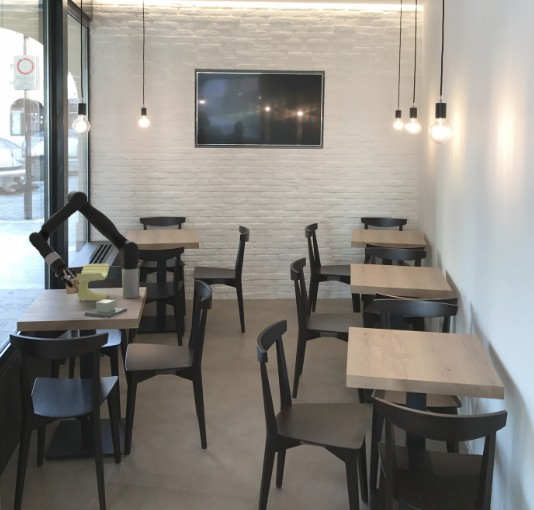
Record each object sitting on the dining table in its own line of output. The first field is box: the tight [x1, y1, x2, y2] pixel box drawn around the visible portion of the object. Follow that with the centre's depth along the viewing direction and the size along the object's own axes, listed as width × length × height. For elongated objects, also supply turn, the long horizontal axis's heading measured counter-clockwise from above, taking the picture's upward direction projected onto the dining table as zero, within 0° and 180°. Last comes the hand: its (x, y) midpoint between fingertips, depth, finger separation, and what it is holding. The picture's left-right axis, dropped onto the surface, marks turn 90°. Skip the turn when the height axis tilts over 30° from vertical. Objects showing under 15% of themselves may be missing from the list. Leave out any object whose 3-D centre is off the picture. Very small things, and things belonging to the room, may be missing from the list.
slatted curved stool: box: [76, 263, 110, 302], centre depth 419 cm, size 30×16×18 cm, turn 4°
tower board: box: [83, 299, 128, 319], centre depth 385 cm, size 16×16×7 cm
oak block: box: [65, 278, 79, 295], centre depth 385 cm, size 4×4×8 cm
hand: (75, 285), depth 384 cm, fingers closed on oak block, 4 cm apart
